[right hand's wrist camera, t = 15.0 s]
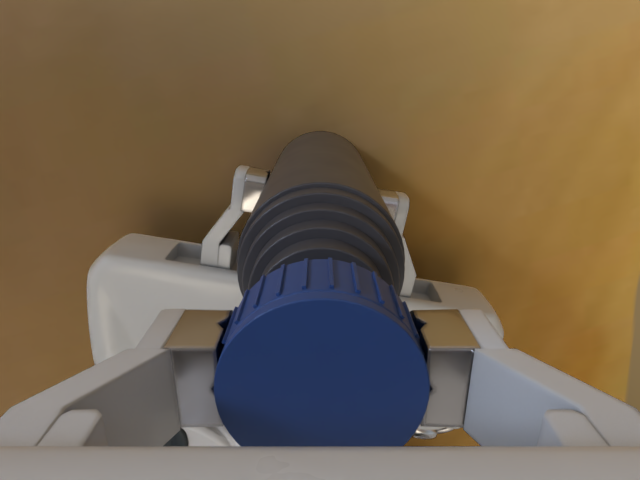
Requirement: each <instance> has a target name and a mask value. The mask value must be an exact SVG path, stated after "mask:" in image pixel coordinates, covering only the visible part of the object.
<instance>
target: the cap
mask: <svg viewBox="0 0 640 480" xmlns="http://www.w3.org/2000/svg"><path fill="white" fill-rule="evenodd" d="M419 340H420V337H419V334H418V332H417V330H416V327H415V325H414V322H413V319H412V317H411V314H410V312H409V309H408V306H407V304H406V302H405V301H404V302H402V301H401V299H400V297H399V296H398V295H397V294H396V291H395V288H394V286H393V285H392V284H391V285H390V286H389V285H388V284H387V283H386V282H385V281H384V280H383V279H381V278H380V277H378V275H377V272H375V271H373V272H370V271H368V270H367V269H365V268H363V267H360V266H357V265H356V263H355V262H352V263H348V262H344V261H339V260H332V258H328V259H313V260H308V258H305V259H304V261H300V262H296V263H292V264H289V265H285V264H283V265H281V268H278V269H277V270H275V271H273V272H271V273H269V274H268V275H266V276H265V275H262V276H261V278H260V280H259V281H258V282H257V283H256V284H255V285H254V286H253V287H252V288H251V289H250V290H248V289H247V290H246V291H245V293H244V296H243V299H242V301H241V303H240V305H239V306H238V307H236V306H235V308H234V310H233V313H232V316H231V319H230V321H229V324H228V327H227V329H226V332H225V335H224V338H223V340H222V343H223V344H224V347H223V350H222V352H221V355H220V358H219V361H218V364H217V367H216V372H215V376H214V397H215V403H216V406H217V410H218V413H219V416H220V418H221V420H222V422H223V424H224V426H225V428H226V429H227V431H228V432H229V434H230V435H231V436H232V437H233V439H234V440H235V441H236V442H237V443H238V444H239V445H240V446H404V445H405V444H406V443H407V442H408V441H409V439H410V438H411V437H412V436H413V434H414V433H415V432H416V430H417V429H418V427H419V425H420V424H421V422H422V420H423V417H424V415H425V412H426V409H427V405H428V401H429V394H430V378H429V372H428V368H427V364H426V361H425V358H424V353H423V351H422V348H421V346H420V343H419Z"/></svg>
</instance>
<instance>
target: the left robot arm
mask: <svg viewBox="0 0 640 480" xmlns="http://www.w3.org/2000/svg"><path fill="white" fill-rule="evenodd" d="M269 177H270V170H266V169H260V168H255V167H250V166H244V165H239V166H238V167H237V169H236V171H235V175H234V179H233V188H232V197H231V204H230V205H229V206H228V208H227V209H226V210H225V211H224V213H223V214H222V215H221V217H220V218H219V219H218V220H217V222H216V223H215V224H214V226H213V227H212V228H211V230H210V231H209V232H208V234H207V235H206V237H205V238H204V239H203V241H202V244H200V243H194V242H187V241H181V240H175V239H169V238H162V237H156V236H150V235H144V234H137V233H130V234H127V235H125V236H123V237H122V238H121V239H119V240H118V241H116V242H115V243H114V244H112V245H111V246H109V247H108V248H107V249H106V250H105V251H104V252H103V253H102V254H101V255H100V256H99V257H98V258H97V259H96V260H95V261H94V262H93V264H92V265H91V267H90V269H89V272H88V276H87V313H88V325H89V333H90V341H91V348H92V354H93V360H94V364H95V365H96V364H98V363H100V362H102V361H104V360H106V359H108V358H110V357H112V356H114V355H116V354H118V353H120V352H122V351H124V350H126V349H135V348H136V346H137V345H138V343H139V342H140V341H141V339H142V338H143V336H144V335H145V333H146V332H147V330H148V329H149V327H150V326H151V325H152V323H153V322H154V320H155V319H156V317H157V316H158V314H159V313H160V311H161V310H164V309H206V310H234V308H235V306H236V307H238V306H239V305H240V303H241V301H242V299H243V296H242V294H241V291H240V287H239V283H238V277H237V249H238V240H239V233H238V232H237V231H233V230H230V229H231V228H232V227H233V225H234V224H235V223H236V222H237V220H238V219H239V218H240V217H241V215H242V214H243V213H244V211H246V212H252V211H253V209H254V207H255V205H256V203H257V201H258V199H259V197H260V195H261V193H262V191H263V189H264V187H265V185H266V183H267V181H268V179H269ZM377 189H378V188H377ZM378 191H379V193H380V194H381V196H382V198H383V200H384V202H385V204H386V206H387V208H388V210H389V212H390V214H391V216H392V218H393V220H394V221H395V223H396V225H397V227H398V229H399V232H400V235H401V237H402V241H403V245H404V252H405V274H404V282H403V287H402V290H401V293H400V296H399V297H400V299H401V301H402V302H404V301H405V302H406V304H407V306H408V309H409V312H410V311H412V310H439V309H480V310H482V311H483V313H484V314H485V315H486V317H487V318H488V320H489V321H490V322H491V324H492V325H493V327H494V328H495V329H496V331H497V332H498V334H499V335H500V336H501V338H502V339H503V337H504V330H503V326H502V324H501V321H500V319H499V317H498V315H497V314H496V312H495V310H494V309H493V307H492V306H491V304H490V303H489V302H488V301H487V299H486V298H485V297H484V296H483V294H482V293H481V292H480V291H479V290H478V289H476V288H474V287H470V286H465V285H458V284H452V283H446V282H439V281H433V280H427V279H420V278H416V273H415V269H414V266H413V263H412V260H411V257H410V254H409V251H408V248H407V244H406V241H405V238H404V236H403V230H404V226H405V222H406V218H407V214H408V210H409V197H408V196H407V195H406V193H403V192H397V191H391V190H384V189H378ZM459 428H460V427H423V426H421V425H419V427H418V429H417V430H416V432H415V433H414V434H413V436H412V437H414V438H418V439H434V438H435V437H436V436H437V434H440V433H446V432H449V431H452V430H454V429H459ZM164 446H240V445H239V444H238V443H237V442H236V441H235V440H234V439H233V437H232V436H231V435H230V434H229V432H228V431H227V429H226V428H225V426H224V425H223V426H219V427H184V428H180V431H179V432H178V433H176V434H175V435H174V436H173V437H172V438H171V439H170V440H169V441H168V442H167V443H166V444H165V445H164Z"/></svg>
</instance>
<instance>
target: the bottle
mask: <svg viewBox="0 0 640 480" xmlns="http://www.w3.org/2000/svg"><path fill="white" fill-rule="evenodd" d="M305 258H308V260H313V259H328V258H332V260H339V261H344V262H348V263H352V262H355V263H356V265H357V266H360V267H363V268H365V269H367V270H368V271H370V272H373V271H375V272H377V275H378V277H380V278H381V279H383V280H384V281H385V282H386V283H387V284H388V285H389V286H390V285H391V284H392V285H393V286H394V288H395V291H396V294H397V295H398V296H400V293H401V290H402V287H403V282H404V274H405V252H404V245H403V241H402V237H401V235H400V232H399V229H398V227H397V225H396V223H395V221H394V220H393V218H392V216H391V214H390V212H389V210H388V208H387V206H386V204H385V202H384V200H383V198H382V196H381V194H380V193H379V191H378V189H377V187H376V185H375V183H374V181H373V179H372V177H371V175H370V173H369V171H368V169H367V167H366V165H365V164H364V162H363V160H362V158H361V156H360V154H359V152H358V151H357V149H356V148H355V147H354V146H353V145H352V144H351V143H350V142H349V141H348V140H346V139H345V138H343V137H341V136H339V135H337V134H335V133H331V132H325V131H315V132H310V133H306V134H303V135H301V136H299V137H297V138H296V139H294V140H293V141H291V142H290V143H289V144H288V145H287V146H286V147H285V149H284V150H283V151H282V153H281V155H280V157H279V159H278V161H277V163H276V165H275V167H274V169H273V171H272V173H271V175H270V177H269V179H268V181H267V183H266V185H265V187H264V189H263V191H262V193H261V195H260V197H259V199H258V201H257V203H256V205H255V207H254V209H253V211H252V213H251V215H250V217H249V219H248V221H247V223H246V225H245V227H244V229H243V231H242V234H241V237H240V239H239V244H238V249H237V277H238V283H239V287H240V291H241V294H242V296H244V293H245V291H246V290H247V289H248V290H250V289H251V288H252V287H253V286H254V285H255V284H256V283H257V282H258V281H259V280H260V278H261V276H262V275H265V276H266V275H268V274H269V273H271V272H273V271H275V270H277V269H278V268H281V265H283V264H285V265H289V264H292V263H296V262H300V261H304V259H305Z"/></svg>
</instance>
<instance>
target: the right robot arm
mask: <svg viewBox="0 0 640 480" xmlns="http://www.w3.org/2000/svg"><path fill="white" fill-rule="evenodd" d="M232 313H233V310H206V309H164V310H161V311H160V313H159V314H158V316H157V317H156V319H155V320H154V322H153V323H152V325H151V326H150V327H149V329H148V330H147V332H146V333H145V335H144V336H143V338H142V339H141V341H140V342H139V343H138V345H137V346H136V348H135V349H126V350H124V351H122V352H120V353H118V354H116V355H114V356H112V357H110V358H108V359H106V360H104V361H102V362H100V363H98V364H96V365H94V366H92V367H90V368H88V369H86V370H84V371H82V372H80V373H78V374H76V375H74V376H72V377H70V378H68V379H66V380H64V381H62V382H60V383H58V384H56V385H54V386H52V387H50V388H48V389H46V390H44V391H42V392H40V393H38V394H36V395H34V396H32V397H30V398H28V399H26V400H24V401H22V402H20V403H18V404H16V405H14V406H12V407H10V408H9V409H8V410H7V411H6V412H5V413H4V415H3V416H2V417H1V418H0V480H640V412H639V411H638V410H637V409H636V408H634V407H632V406H630V405H629V404H627V403H624V402H622V401H620V400H618V399H616V398H614V397H612V396H610V395H608V394H606V393H604V392H602V391H600V390H598V389H596V388H594V387H592V386H590V385H588V384H586V383H584V382H582V381H580V380H578V379H576V378H574V377H572V376H570V375H568V374H566V373H564V372H562V371H560V370H558V369H556V368H554V367H552V366H550V365H548V364H546V363H544V362H542V361H540V360H538V359H536V358H534V357H532V356H530V355H528V354H526V353H524V352H522V351H520V350H518V349H509V348H508V346H507V345H506V344H505V342H504V341H503V339H502V338H501V336H500V335H499V334H498V332H497V331H496V329H495V328H494V327H493V325H492V324H491V322H490V321H489V320H488V318H487V317H486V315H485V314H484V313H483V311H482V310H480V309H439V310H412V311H410V314H411V317H412V319H413V322H414V325H415V327H416V330H417V332H418V334H419V337H420V340H419V343H420V346H421V348H422V351H423V353H424V358H425V361H426V364H427V368H428V372H429V378H430V394H429V401H428V405H427V409H426V412H425V415H424V417H423V420H422V422H421V424H420V425H421V426H423V427H460V428H463V430H464V431H465V432H467V433H468V434H469V435H470V436H471V437H472V438H473V439H474V440H475V441H476V442H477V443H478V444H479V445H481V446H164V445H165V444H166V443H167V442H168V441H169V440H170V439H171V438H172V437H173V436H174V435H175V434H176V433H178V432H179V431H180V428H184V427H219V426H223V425H224V424H223V422H222V420H221V418H220V416H219V413H218V410H217V406H216V403H215V397H214V376H215V372H216V367H217V364H218V361H219V358H220V355H221V352H222V350H223V347H224V344H223V343H222V340H223V338H224V335H225V332H226V329H227V327H228V324H229V321H230V319H231V316H232Z"/></svg>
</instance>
